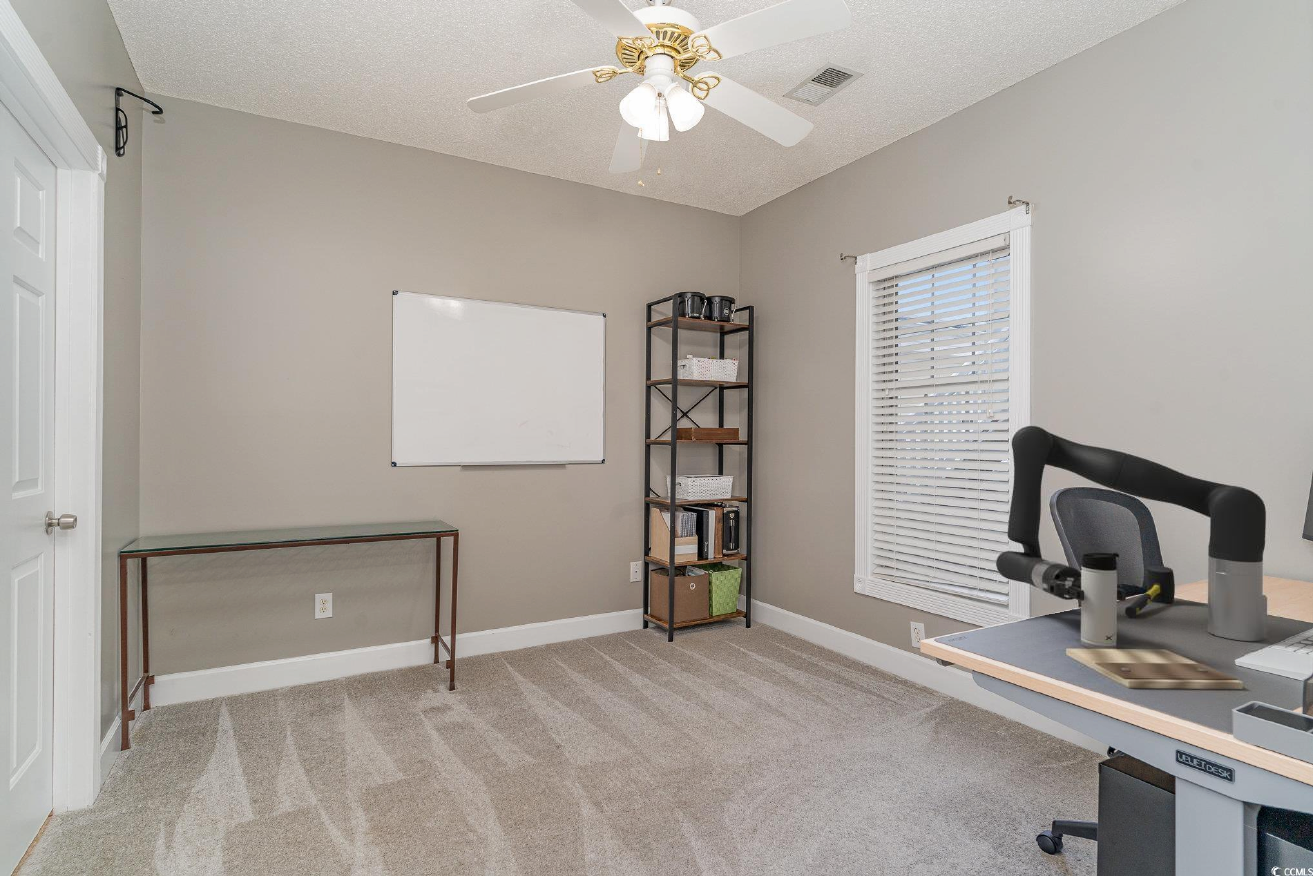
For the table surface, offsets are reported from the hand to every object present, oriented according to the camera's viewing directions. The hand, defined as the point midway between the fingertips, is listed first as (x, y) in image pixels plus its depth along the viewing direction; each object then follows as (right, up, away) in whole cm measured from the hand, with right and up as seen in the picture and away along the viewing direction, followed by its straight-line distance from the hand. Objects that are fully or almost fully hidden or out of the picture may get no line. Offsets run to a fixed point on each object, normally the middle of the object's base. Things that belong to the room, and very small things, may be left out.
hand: (1103, 596), depth 139 cm
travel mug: (0, -11, +1) cm, 11 cm away
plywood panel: (0, -11, -13) cm, 17 cm away
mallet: (+34, -12, +33) cm, 49 cm away
